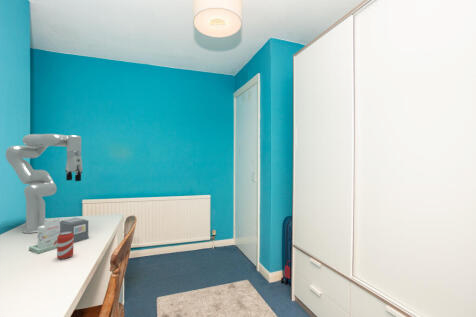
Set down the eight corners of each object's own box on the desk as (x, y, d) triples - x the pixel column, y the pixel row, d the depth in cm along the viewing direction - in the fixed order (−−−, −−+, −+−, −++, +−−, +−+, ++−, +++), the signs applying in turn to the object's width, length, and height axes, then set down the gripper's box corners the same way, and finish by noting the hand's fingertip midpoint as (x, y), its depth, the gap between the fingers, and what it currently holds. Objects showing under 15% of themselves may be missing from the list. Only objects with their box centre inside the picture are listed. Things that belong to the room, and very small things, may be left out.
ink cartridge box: (53, 243, 128) (54, 217, 128) (60, 244, 127) (60, 217, 127) (36, 248, 120) (37, 221, 120) (43, 249, 119) (44, 221, 119)
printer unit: (58, 240, 134) (58, 220, 134) (76, 235, 143) (76, 217, 143) (70, 243, 128) (70, 223, 129) (88, 238, 138) (88, 219, 138)
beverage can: (53, 259, 109) (54, 234, 109) (67, 253, 115) (67, 230, 115) (63, 260, 108) (63, 235, 108) (76, 255, 114) (76, 231, 114)
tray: (28, 250, 119) (28, 246, 119) (59, 241, 132) (59, 238, 132) (38, 253, 115) (38, 250, 115) (69, 244, 127) (69, 241, 127)
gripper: (88, 154, 146) (87, 180, 146) (72, 154, 154) (72, 179, 154) (75, 154, 140) (75, 181, 139) (60, 154, 147) (59, 180, 147)
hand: (73, 180), depth 147 cm, fingers open, 9 cm apart
